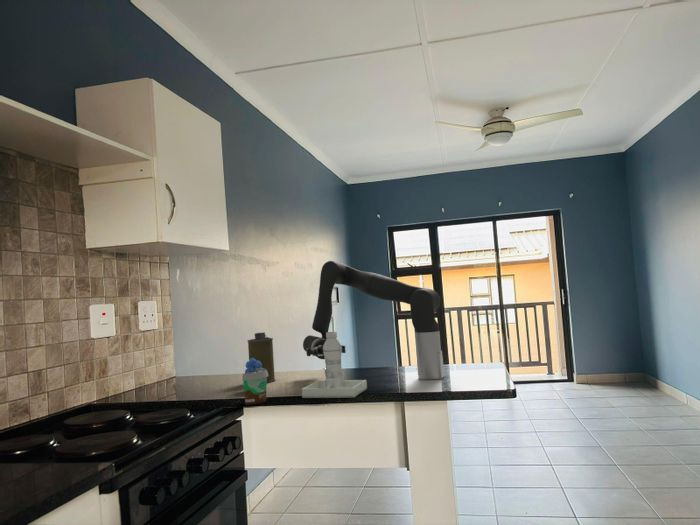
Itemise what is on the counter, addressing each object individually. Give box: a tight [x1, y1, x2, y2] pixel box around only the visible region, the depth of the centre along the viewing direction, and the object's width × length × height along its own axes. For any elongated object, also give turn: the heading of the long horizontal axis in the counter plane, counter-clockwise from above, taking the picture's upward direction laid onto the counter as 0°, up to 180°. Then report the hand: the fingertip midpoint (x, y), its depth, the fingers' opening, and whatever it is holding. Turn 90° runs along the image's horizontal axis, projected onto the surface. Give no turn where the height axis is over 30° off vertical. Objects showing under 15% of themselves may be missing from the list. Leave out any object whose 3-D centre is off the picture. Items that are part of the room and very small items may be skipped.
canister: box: [247, 332, 276, 384], centre depth 212 cm, size 11×10×20 cm
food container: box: [242, 369, 269, 406], centre depth 170 cm, size 12×6×10 cm, turn 168°
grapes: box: [244, 358, 264, 374], centre depth 191 cm, size 12×7×12 cm, turn 47°
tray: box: [301, 379, 368, 399], centre depth 175 cm, size 18×15×3 cm
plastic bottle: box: [323, 331, 345, 388], centre depth 176 cm, size 6×7×20 cm
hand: (328, 352), depth 184 cm, fingers open, 8 cm apart
